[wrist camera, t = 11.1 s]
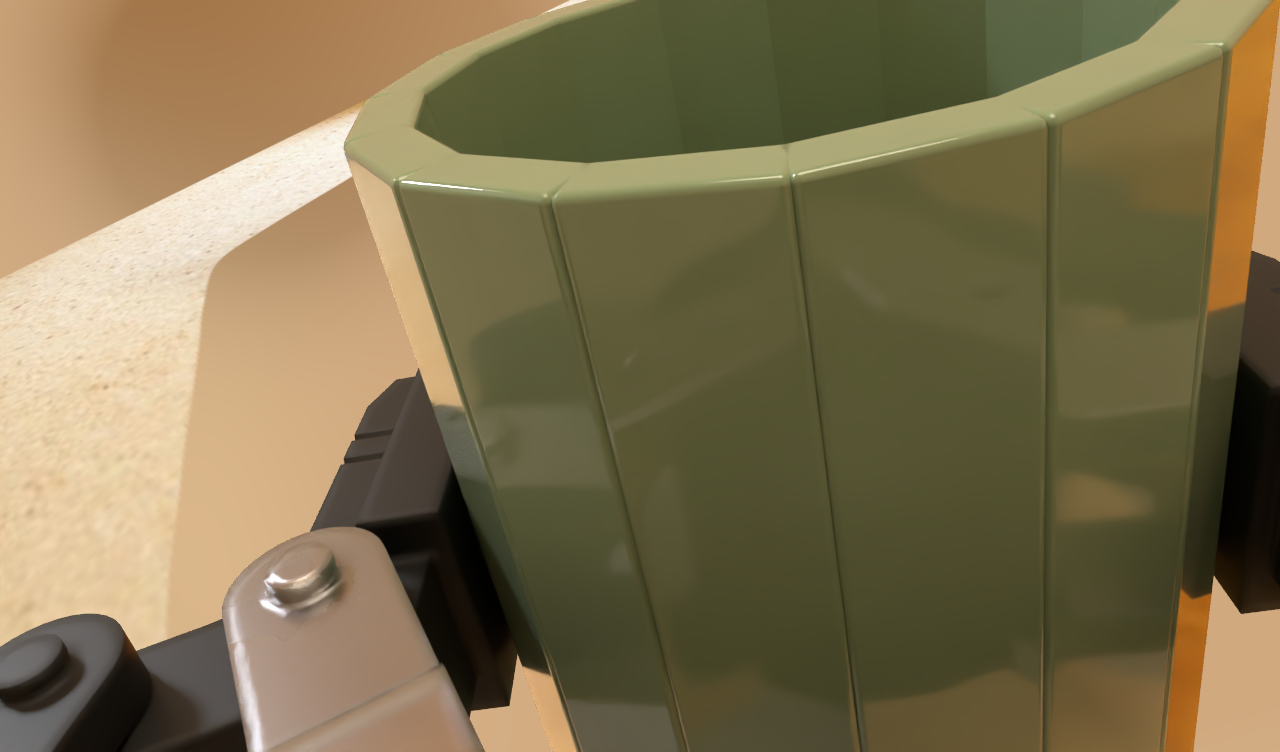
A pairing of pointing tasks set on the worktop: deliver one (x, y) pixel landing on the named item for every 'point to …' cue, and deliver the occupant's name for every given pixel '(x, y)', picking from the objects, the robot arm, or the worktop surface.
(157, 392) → the worktop surface
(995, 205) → the cup
